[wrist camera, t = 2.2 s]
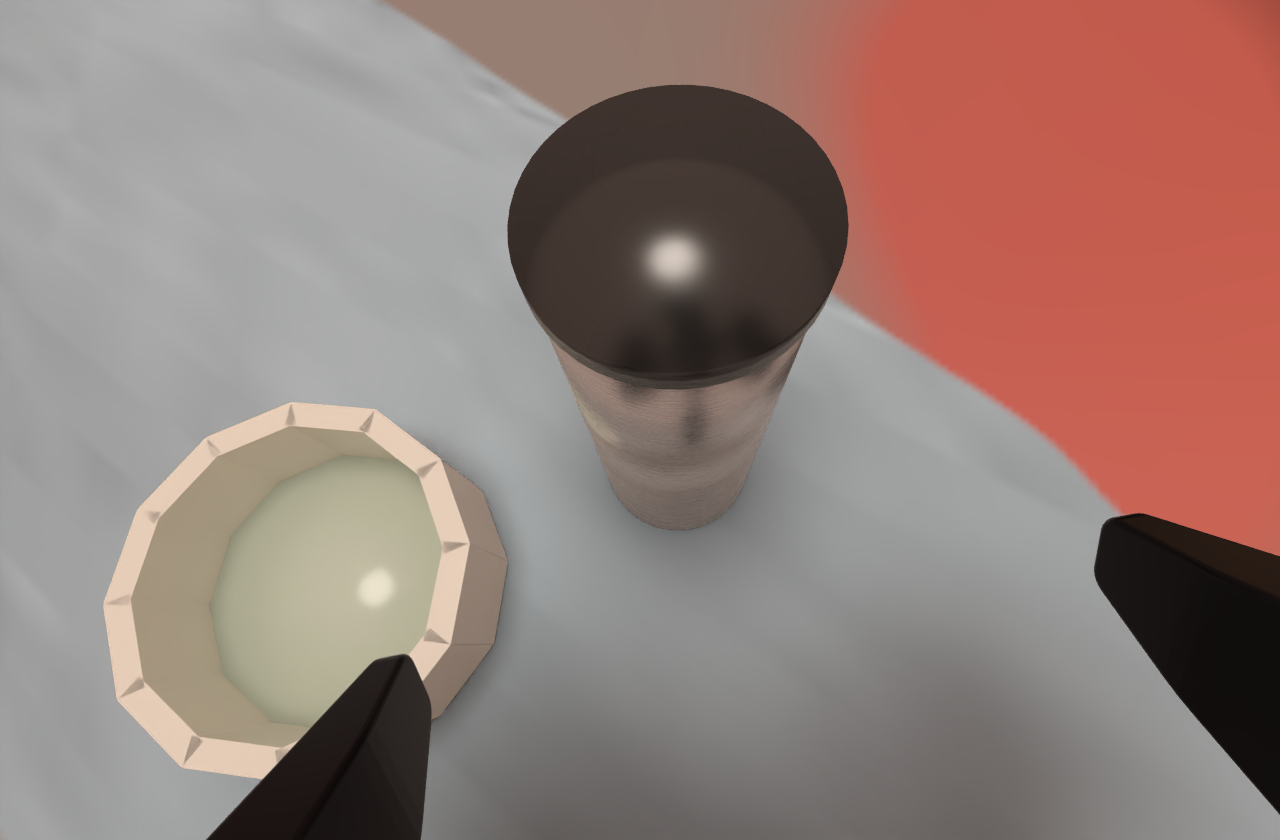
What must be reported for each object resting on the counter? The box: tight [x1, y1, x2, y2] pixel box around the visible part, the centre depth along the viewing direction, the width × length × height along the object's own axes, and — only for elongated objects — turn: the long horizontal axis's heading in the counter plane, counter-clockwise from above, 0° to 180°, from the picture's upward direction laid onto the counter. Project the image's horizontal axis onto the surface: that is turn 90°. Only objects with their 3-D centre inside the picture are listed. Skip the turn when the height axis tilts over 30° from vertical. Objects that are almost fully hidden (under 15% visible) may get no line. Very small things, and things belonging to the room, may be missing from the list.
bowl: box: [103, 402, 508, 779], centre depth 19 cm, size 9×9×4 cm
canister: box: [508, 85, 848, 530], centre depth 15 cm, size 5×5×13 cm
